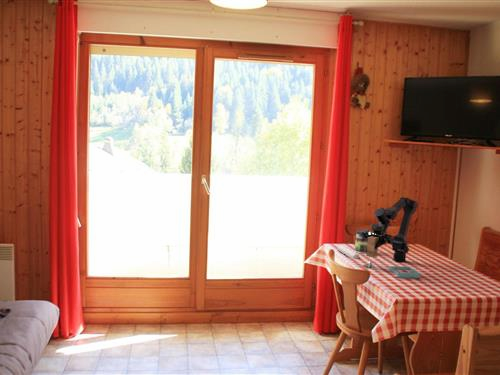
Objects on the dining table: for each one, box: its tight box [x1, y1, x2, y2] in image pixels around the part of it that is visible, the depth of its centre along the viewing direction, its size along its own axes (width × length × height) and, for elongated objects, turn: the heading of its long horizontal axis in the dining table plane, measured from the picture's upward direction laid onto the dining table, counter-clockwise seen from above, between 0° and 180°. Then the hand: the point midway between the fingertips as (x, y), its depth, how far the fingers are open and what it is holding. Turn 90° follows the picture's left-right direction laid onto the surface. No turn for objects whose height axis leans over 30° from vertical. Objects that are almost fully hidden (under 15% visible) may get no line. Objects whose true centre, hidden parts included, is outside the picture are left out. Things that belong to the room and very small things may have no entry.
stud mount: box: [362, 261, 379, 270], centre depth 295 cm, size 7×7×4 cm
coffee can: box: [354, 229, 373, 255], centre depth 337 cm, size 10×10×14 cm
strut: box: [365, 236, 379, 258], centre depth 293 cm, size 4×4×11 cm
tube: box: [336, 243, 360, 260], centre depth 324 cm, size 5×5×25 cm
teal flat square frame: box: [388, 265, 421, 279], centre depth 287 cm, size 13×13×3 cm
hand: (371, 247), depth 292 cm, fingers closed on strut, 4 cm apart
